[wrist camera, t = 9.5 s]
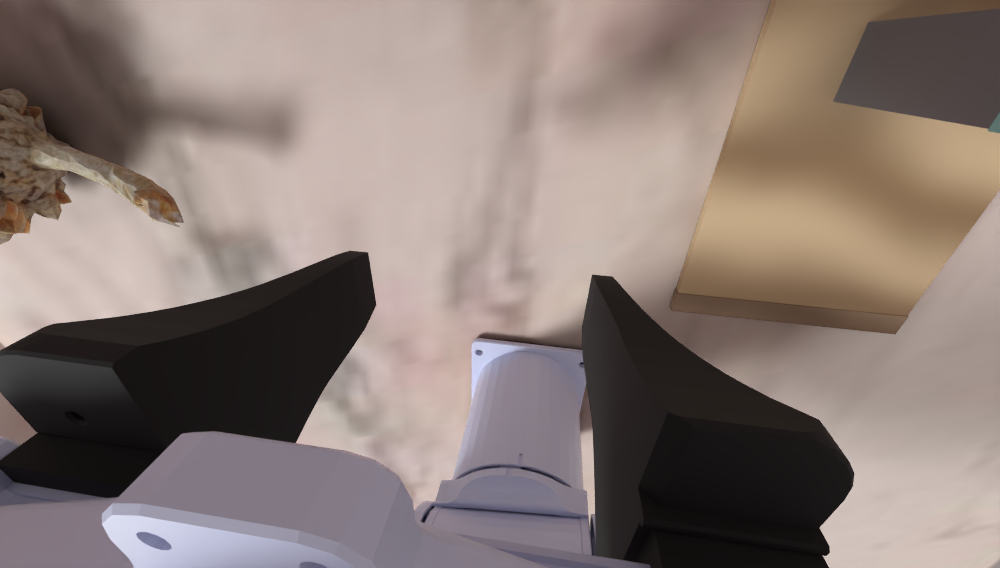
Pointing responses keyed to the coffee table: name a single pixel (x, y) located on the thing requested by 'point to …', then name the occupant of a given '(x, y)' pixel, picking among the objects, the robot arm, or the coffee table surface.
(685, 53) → the coffee table surface
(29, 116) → the pine cone
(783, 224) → the tan rectangular board
